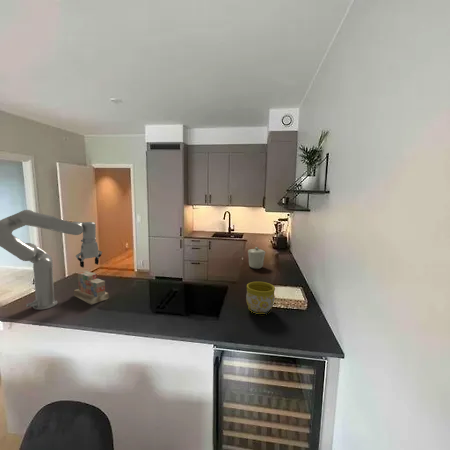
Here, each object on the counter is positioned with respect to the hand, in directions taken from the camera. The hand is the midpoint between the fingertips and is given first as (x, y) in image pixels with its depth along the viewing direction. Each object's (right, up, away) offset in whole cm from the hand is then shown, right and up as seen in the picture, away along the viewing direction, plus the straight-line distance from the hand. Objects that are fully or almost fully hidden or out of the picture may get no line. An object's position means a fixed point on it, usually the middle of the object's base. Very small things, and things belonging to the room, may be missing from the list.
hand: (89, 265), depth 173 cm
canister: (+123, -16, +88) cm, 152 cm away
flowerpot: (+113, -28, -8) cm, 117 cm away
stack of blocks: (0, -19, +2) cm, 19 cm away
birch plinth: (0, -22, +3) cm, 22 cm away
